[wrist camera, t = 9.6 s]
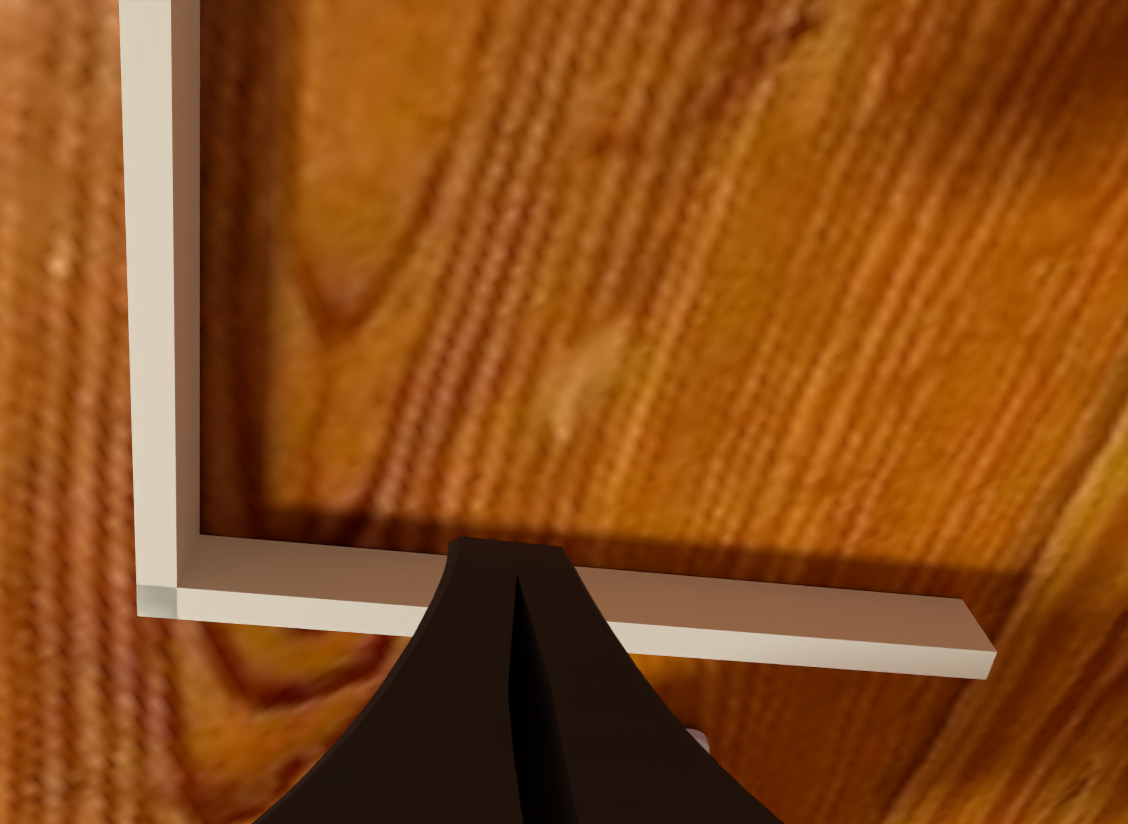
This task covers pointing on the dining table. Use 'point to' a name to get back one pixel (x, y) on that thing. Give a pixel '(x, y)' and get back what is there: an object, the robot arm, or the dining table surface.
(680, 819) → the robot arm
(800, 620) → the white u-shaped open frame
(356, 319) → the dining table surface
